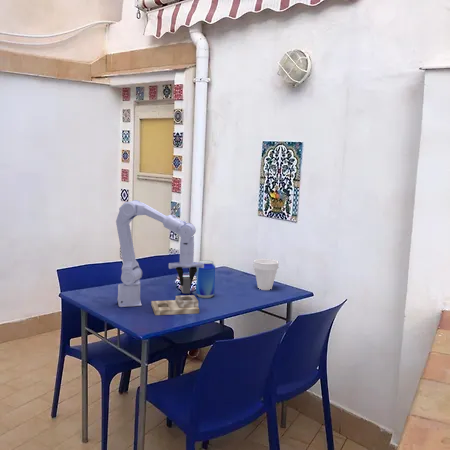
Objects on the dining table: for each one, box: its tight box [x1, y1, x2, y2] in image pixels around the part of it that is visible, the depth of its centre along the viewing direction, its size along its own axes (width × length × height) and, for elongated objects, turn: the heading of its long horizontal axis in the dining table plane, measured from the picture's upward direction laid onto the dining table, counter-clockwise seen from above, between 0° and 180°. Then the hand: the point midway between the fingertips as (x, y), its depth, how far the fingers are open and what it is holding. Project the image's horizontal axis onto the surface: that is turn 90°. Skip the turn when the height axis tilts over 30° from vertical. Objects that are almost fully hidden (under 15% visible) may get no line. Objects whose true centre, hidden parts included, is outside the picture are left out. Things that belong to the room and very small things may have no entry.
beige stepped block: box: [150, 294, 200, 316], centre depth 214 cm, size 18×13×4 cm
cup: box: [253, 258, 280, 291], centre depth 252 cm, size 12×12×14 cm
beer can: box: [195, 259, 216, 299], centre depth 235 cm, size 8×8×16 cm
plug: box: [180, 276, 191, 294], centre depth 214 cm, size 3×4×6 cm
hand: (185, 284), depth 214 cm, fingers closed on plug, 3 cm apart
